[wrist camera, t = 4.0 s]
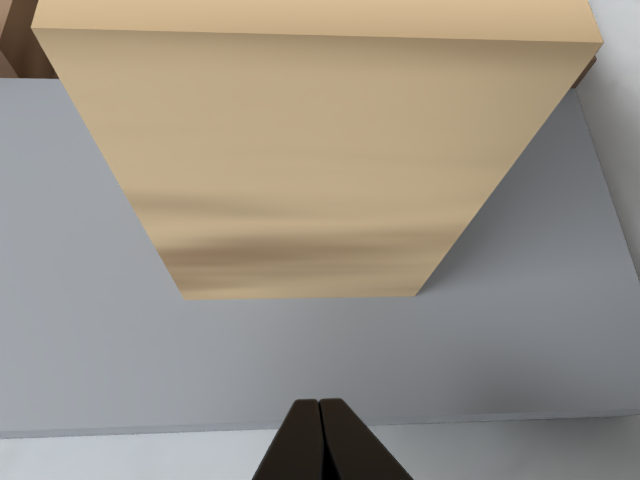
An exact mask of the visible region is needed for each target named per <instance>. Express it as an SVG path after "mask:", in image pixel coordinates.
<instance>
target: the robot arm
mask: <svg viewBox="0 0 640 480" xmlns="http://www.w3.org/2000/svg"><path fill="white" fill-rule="evenodd" d="M252 480H414V479H413V478H412V477H411V476H410V475H409V474H408V473H407V472H406V470H405V469H404V468H403V467H402V466H401V465H400V464H399V462H398V461H397V460H396V459H395V458H394V457H393V456H392V454H391V453H390V452H389V451H388V450H387V449H386V448H385V446H384V445H383V444H382V443H381V442H380V441H379V440H378V438H377V437H376V436H375V435H374V434H373V433H372V432H371V431H370V429H369V428H368V427H367V426H366V425H365V424H364V423H363V421H362V420H361V419H360V418H359V417H358V416H357V415H356V413H355V412H354V411H353V410H352V409H351V408H350V407H349V405H348V404H347V403H346V402H345V401H344V400H343V399H341V398H322V399H320V400H319V402H318V401H317V400H316V399H296V400H295V401H294V402H293V404H292V406H291V408H290V409H289V411H288V413H287V415H286V417H285V419H284V421H283V422H282V424H281V426H280V428H279V430H278V432H277V433H276V435H275V437H274V439H273V441H272V443H271V445H270V446H269V448H268V450H267V452H266V454H265V456H264V458H263V459H262V461H261V463H260V465H259V467H258V469H257V471H256V472H255V474H254V476H253V478H252Z"/></svg>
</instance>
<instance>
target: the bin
mask: <svg viewBox="0 0 640 480" xmlns="http://www.w3.org/2000/svg"><path fill="white" fill-rule="evenodd" d="M38 1H39V0H0V78H30V79H59V77H58V75H57V73H56V72H55V70H54V68H53V66H52V65H51V63H50V61H49V59H48V57H47V56H46V54H45V52H44V50H43V49H42V47H41V45H40V43H39V42H38V40H37V38H36V36H35V34H34V33H33V31H32V29H31V25H32V21H33V18H34V14H35V11H36V8H37V4H38ZM596 60H597V59H596V56H595V55H594V57H593V58H592V59H591V61H590V62H589V63H588V65H587V66H586V67H585V69H584V70H583V71H582V73H581V74H580V75H579V77H578V78H577V79H576V81H575V82H574V83H573V85H572V86H571V87H570V88H576V87H577V85H578V84H579V83H580V81H581V80H582V79H583V77H584V76H585V75H586V73H587V72H588V71H589V69H590V68H591V67H592V65H593V64H594V63H595V62H596Z"/></svg>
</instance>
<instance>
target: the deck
mask: <svg viewBox="0 0 640 480" xmlns="http://www.w3.org/2000/svg"><path fill="white" fill-rule="evenodd" d="M322 398H341V399H343V400H344V401H345V402H346V403H347V404H348V405H349V407H350V408H351V409H352V410H353V411H354V412H355V413H356V415H357V416H358V417H359V418H360V419H361V420H362V421H363V423H364V424H365V425H366V426H367V425H394V424H422V423H449V422H476V421H504V420H531V419H559V418H586V417H613V416H630V415H636V414H640V282H639V279H638V276H637V273H636V270H635V267H634V264H633V261H632V258H631V255H630V252H629V249H628V246H627V243H626V240H625V237H624V234H623V231H622V228H621V225H620V222H619V219H618V216H617V213H616V210H615V207H614V204H613V201H612V198H611V195H610V192H609V189H608V186H607V183H606V180H605V177H604V174H603V171H602V168H601V165H600V162H599V159H598V156H597V153H596V150H595V147H594V144H593V141H592V138H591V135H590V132H589V129H588V126H587V123H586V120H585V117H584V114H583V111H582V108H581V105H580V102H579V99H578V96H577V93H576V90H575V88H570V89H569V90H568V91H567V93H566V94H565V95H564V97H563V98H562V99H561V101H560V102H559V104H558V105H557V106H556V108H555V109H554V110H553V112H552V113H551V114H550V116H549V117H548V118H547V120H546V121H545V122H544V124H543V125H542V126H541V128H540V129H539V130H538V132H537V133H536V134H535V136H534V137H533V138H532V140H531V141H530V142H529V144H528V145H527V146H526V148H525V149H524V150H523V152H522V153H521V154H520V156H519V157H518V158H517V160H516V161H515V163H514V164H513V165H512V167H511V168H510V169H509V171H508V172H507V173H506V175H505V176H504V177H503V179H502V180H501V181H500V183H499V184H498V185H497V187H496V188H495V189H494V191H493V192H492V193H491V195H490V196H489V197H488V199H487V200H486V201H485V203H484V204H483V205H482V207H481V208H480V209H479V211H478V212H477V213H476V215H475V216H474V217H473V219H472V220H471V222H470V223H469V224H468V226H467V227H466V228H465V230H464V231H463V232H462V234H461V235H460V236H459V238H458V239H457V240H456V242H455V243H454V244H453V246H452V247H451V248H450V250H449V251H448V252H447V254H446V255H445V256H444V258H443V259H442V260H441V262H440V263H439V264H438V266H437V267H436V268H435V270H434V271H433V272H432V274H431V275H430V276H429V278H428V279H427V281H426V282H425V283H424V285H423V286H422V287H421V289H420V290H419V291H418V293H417V294H416V295H415V296H410V297H347V298H284V299H221V300H184V298H183V296H182V295H181V293H180V291H179V289H178V287H177V286H176V284H175V282H174V280H173V279H172V277H171V275H170V273H169V272H168V270H167V268H166V266H165V264H164V263H163V261H162V259H161V257H160V256H159V254H158V252H157V250H156V249H155V247H154V245H153V243H152V241H151V240H150V238H149V236H148V234H147V233H146V231H145V229H144V227H143V226H142V224H141V222H140V220H139V218H138V217H137V215H136V213H135V211H134V210H133V208H132V206H131V204H130V203H129V201H128V199H127V197H126V195H125V194H124V192H123V190H122V188H121V187H120V185H119V183H118V181H117V180H116V178H115V176H114V174H113V172H112V171H111V169H110V167H109V165H108V164H107V162H106V160H105V158H104V157H103V155H102V153H101V151H100V149H99V148H98V146H97V144H96V142H95V141H94V139H93V137H92V135H91V134H90V132H89V130H88V128H87V126H86V125H85V123H84V121H83V119H82V118H81V116H80V114H79V112H78V111H77V109H76V107H75V105H74V103H73V102H72V100H71V98H70V96H69V95H68V93H67V91H66V89H65V88H64V86H63V84H62V82H61V80H60V79H30V78H0V439H11V438H38V437H65V436H93V435H120V434H148V433H175V432H202V431H230V430H257V429H279V428H280V426H281V424H282V422H283V421H284V419H285V417H286V415H287V413H288V411H289V409H290V408H291V406H292V404H293V402H294V401H295V400H296V399H316V400H317V401H318V402H319V400H320V399H322Z"/></svg>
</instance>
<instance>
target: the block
mask: <svg viewBox="0 0 640 480" xmlns="http://www.w3.org/2000/svg"><path fill="white" fill-rule="evenodd" d="M31 29H32V31H33V33H34V34H35V36H36V38H37V40H38V42H39V43H40V45H41V47H42V49H43V50H44V52H45V54H46V56H47V57H48V59H49V61H50V63H51V65H52V66H53V68H54V70H55V72H56V73H57V75H58V77H59V79H60V80H61V82H62V84H63V86H64V88H65V89H66V91H67V93H68V95H69V96H70V98H71V100H72V102H73V103H74V105H75V107H76V109H77V111H78V112H79V114H80V116H81V118H82V119H83V121H84V123H85V125H86V126H87V128H88V130H89V132H90V134H91V135H92V137H93V139H94V141H95V142H96V144H97V146H98V148H99V149H100V151H101V153H102V155H103V157H104V158H105V160H106V162H107V164H108V165H109V167H110V169H111V171H112V172H113V174H114V176H115V178H116V180H117V181H118V183H119V185H120V187H121V188H122V190H123V192H124V194H125V195H126V197H127V199H128V201H129V203H130V204H131V206H132V208H133V210H134V211H135V213H136V215H137V217H138V218H139V220H140V222H141V224H142V226H143V227H144V229H145V231H146V233H147V234H148V236H149V238H150V240H151V241H152V243H153V245H154V247H155V249H156V250H157V252H158V254H159V256H160V257H161V259H162V261H163V263H164V264H165V266H166V268H167V270H168V272H169V273H170V275H171V277H172V279H173V280H174V282H175V284H176V286H177V287H178V289H179V291H180V293H181V295H182V296H183V298H184V300H221V299H284V298H347V297H410V296H415V295H416V294H417V293H418V291H419V290H420V289H421V287H422V286H423V285H424V283H425V282H426V281H427V279H428V278H429V276H430V275H431V274H432V272H433V271H434V270H435V268H436V267H437V266H438V264H439V263H440V262H441V260H442V259H443V258H444V256H445V255H446V254H447V252H448V251H449V250H450V248H451V247H452V246H453V244H454V243H455V242H456V240H457V239H458V238H459V236H460V235H461V234H462V232H463V231H464V230H465V228H466V227H467V226H468V224H469V223H470V222H471V220H472V219H473V217H474V216H475V215H476V213H477V212H478V211H479V209H480V208H481V207H482V205H483V204H484V203H485V201H486V200H487V199H488V197H489V196H490V195H491V193H492V192H493V191H494V189H495V188H496V187H497V185H498V184H499V183H500V181H501V180H502V179H503V177H504V176H505V175H506V173H507V172H508V171H509V169H510V168H511V167H512V165H513V164H514V163H515V161H516V160H517V158H518V157H519V156H520V154H521V153H522V152H523V150H524V149H525V148H526V146H527V145H528V144H529V142H530V141H531V140H532V138H533V137H534V136H535V134H536V133H537V132H538V130H539V129H540V128H541V126H542V125H543V124H544V122H545V121H546V120H547V118H548V117H549V116H550V114H551V113H552V112H553V110H554V109H555V108H556V106H557V105H558V104H559V102H560V101H561V99H562V98H563V97H564V95H565V94H566V93H567V91H568V90H569V89H570V87H571V86H572V85H573V83H574V82H575V81H576V79H577V78H578V77H579V75H580V74H581V73H582V71H583V70H584V69H585V67H586V66H587V65H588V63H589V62H590V61H591V59H592V58H593V57H594V55H595V54H596V53H597V51H598V50H599V49H600V47H601V46H602V45H603V43H604V42H603V39H602V36H601V34H600V31H599V29H598V26H597V23H596V21H595V18H594V16H593V13H592V10H591V8H590V5H589V3H588V0H39V1H38V4H37V8H36V11H35V14H34V18H33V21H32V25H31Z"/></svg>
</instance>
